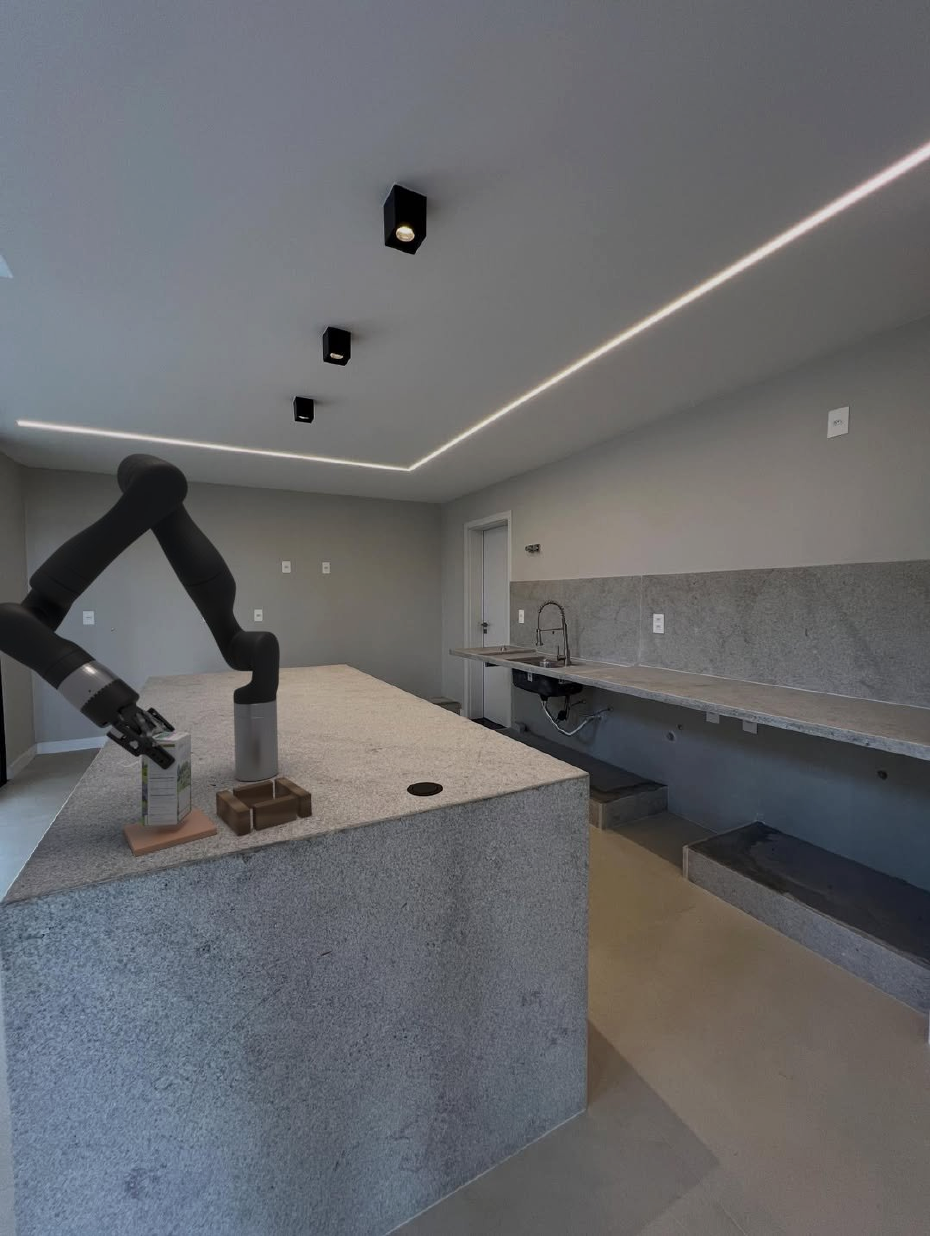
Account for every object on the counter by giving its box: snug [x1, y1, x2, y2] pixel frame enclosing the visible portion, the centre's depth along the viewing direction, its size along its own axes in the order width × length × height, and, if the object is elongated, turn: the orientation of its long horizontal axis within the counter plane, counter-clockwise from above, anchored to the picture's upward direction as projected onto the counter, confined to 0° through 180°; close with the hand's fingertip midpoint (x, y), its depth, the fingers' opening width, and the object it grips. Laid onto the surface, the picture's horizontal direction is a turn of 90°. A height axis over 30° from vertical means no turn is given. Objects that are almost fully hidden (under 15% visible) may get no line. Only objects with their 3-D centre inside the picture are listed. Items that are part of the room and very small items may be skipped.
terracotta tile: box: [122, 807, 218, 857], centre depth 89 cm, size 12×12×1 cm
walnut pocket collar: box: [215, 776, 313, 837], centre depth 97 cm, size 13×13×4 cm
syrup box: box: [141, 731, 192, 826], centre depth 89 cm, size 6×6×14 cm
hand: (177, 759), depth 89 cm, fingers closed on syrup box, 6 cm apart
